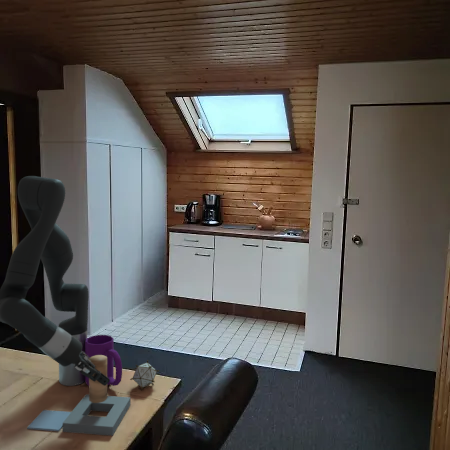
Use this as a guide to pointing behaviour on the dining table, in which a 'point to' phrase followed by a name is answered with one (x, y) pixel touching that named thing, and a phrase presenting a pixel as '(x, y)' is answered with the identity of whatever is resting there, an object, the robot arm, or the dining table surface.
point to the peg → (96, 388)
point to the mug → (106, 348)
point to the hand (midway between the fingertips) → (104, 378)
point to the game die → (144, 375)
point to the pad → (49, 420)
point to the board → (96, 424)
